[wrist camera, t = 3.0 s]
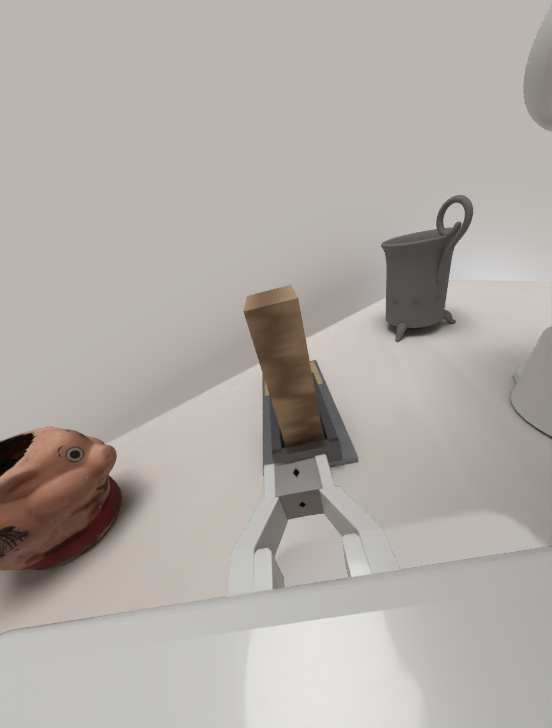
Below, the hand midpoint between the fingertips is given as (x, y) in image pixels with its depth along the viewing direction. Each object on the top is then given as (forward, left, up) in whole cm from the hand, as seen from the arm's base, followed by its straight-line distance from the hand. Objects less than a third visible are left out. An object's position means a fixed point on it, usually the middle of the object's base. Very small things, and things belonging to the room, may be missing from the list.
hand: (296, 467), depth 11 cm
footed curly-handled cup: (-31, -42, -17) cm, 55 cm away
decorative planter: (+32, -9, -17) cm, 37 cm away
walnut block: (0, -16, -16) cm, 22 cm away
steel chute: (0, -23, -17) cm, 29 cm away
